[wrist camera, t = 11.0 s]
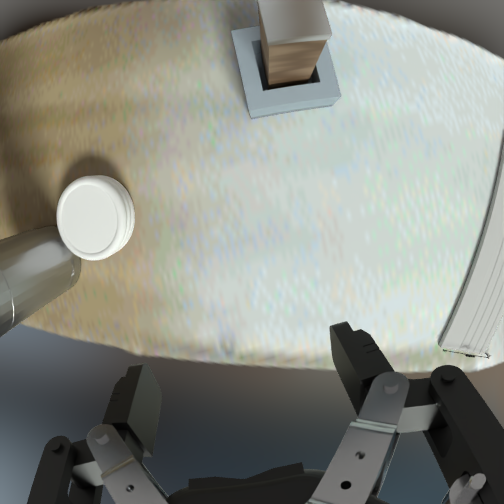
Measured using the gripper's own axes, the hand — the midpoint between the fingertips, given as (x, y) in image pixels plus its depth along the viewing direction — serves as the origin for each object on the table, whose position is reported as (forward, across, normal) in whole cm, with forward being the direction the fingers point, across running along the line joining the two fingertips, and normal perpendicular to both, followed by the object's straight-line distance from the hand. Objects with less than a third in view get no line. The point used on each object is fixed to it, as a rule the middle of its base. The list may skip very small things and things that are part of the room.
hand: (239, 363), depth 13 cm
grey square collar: (+25, -9, -15) cm, 31 cm away
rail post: (+24, -9, -15) cm, 30 cm away
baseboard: (+20, -37, +11) cm, 43 cm away
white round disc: (+27, +16, -4) cm, 31 cm away
